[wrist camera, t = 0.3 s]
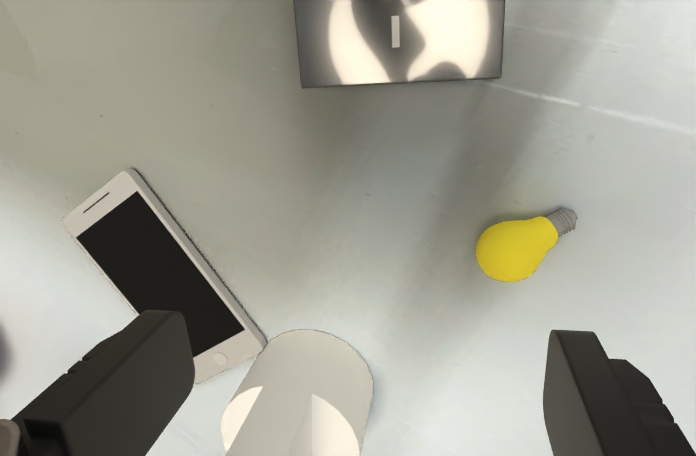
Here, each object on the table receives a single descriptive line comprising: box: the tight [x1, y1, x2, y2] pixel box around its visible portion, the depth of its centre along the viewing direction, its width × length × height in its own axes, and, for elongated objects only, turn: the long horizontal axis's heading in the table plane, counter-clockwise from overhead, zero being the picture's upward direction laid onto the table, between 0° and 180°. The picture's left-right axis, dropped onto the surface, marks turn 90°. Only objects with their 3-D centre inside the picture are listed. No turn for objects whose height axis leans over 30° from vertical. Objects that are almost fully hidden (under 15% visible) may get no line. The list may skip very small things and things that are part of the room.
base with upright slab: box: [221, 330, 374, 456], centre depth 29 cm, size 9×9×12 cm
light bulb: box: [476, 208, 577, 282], centre depth 27 cm, size 3×6×4 cm, turn 120°
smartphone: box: [61, 168, 266, 384], centre depth 34 cm, size 7×15×1 cm, turn 34°
